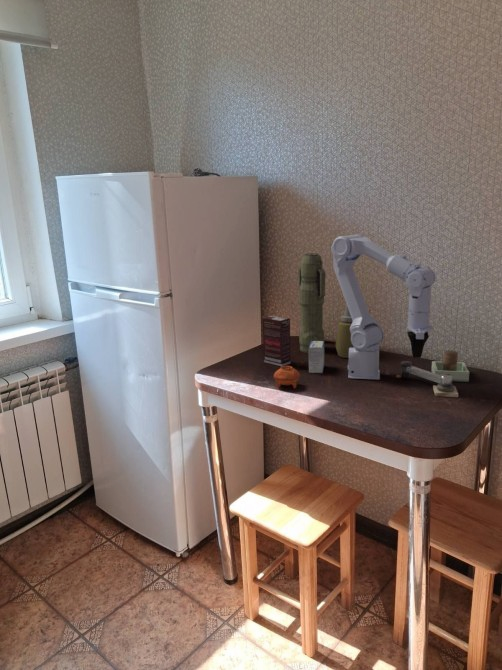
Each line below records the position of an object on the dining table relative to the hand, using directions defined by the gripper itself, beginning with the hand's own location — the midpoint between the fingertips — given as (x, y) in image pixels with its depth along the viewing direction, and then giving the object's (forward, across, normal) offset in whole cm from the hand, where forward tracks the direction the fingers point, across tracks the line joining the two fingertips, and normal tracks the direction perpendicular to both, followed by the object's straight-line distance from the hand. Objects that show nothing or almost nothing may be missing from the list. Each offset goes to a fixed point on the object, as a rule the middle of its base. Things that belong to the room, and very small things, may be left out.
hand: (416, 357), depth 154 cm
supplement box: (+10, +18, +44) cm, 49 cm away
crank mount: (+9, +2, -3) cm, 10 cm away
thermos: (+10, +35, +34) cm, 50 cm away
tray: (+9, +12, -11) cm, 19 cm away
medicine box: (+10, +13, +30) cm, 34 cm away
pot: (+10, -4, +37) cm, 39 cm away
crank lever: (+9, +2, -3) cm, 10 cm away
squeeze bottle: (+10, +29, +21) cm, 37 cm away
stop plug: (+9, +12, -11) cm, 18 cm away
